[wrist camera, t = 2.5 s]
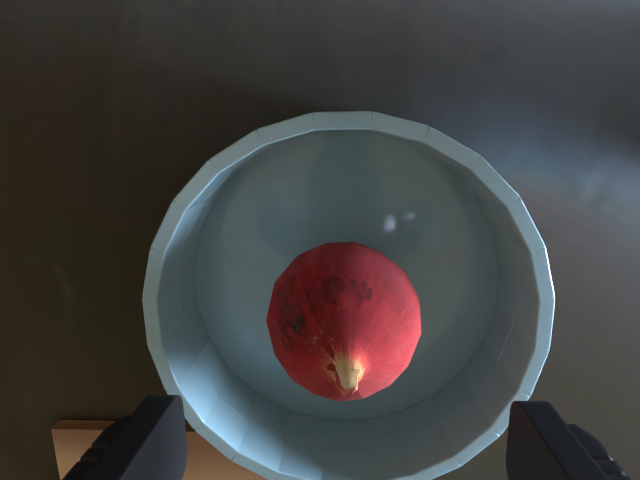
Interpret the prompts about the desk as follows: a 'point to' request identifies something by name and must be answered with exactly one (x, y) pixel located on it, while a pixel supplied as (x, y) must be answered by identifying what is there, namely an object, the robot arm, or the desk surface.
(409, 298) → the onion
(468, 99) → the desk surface
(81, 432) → the plate
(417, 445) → the light blue bowl
